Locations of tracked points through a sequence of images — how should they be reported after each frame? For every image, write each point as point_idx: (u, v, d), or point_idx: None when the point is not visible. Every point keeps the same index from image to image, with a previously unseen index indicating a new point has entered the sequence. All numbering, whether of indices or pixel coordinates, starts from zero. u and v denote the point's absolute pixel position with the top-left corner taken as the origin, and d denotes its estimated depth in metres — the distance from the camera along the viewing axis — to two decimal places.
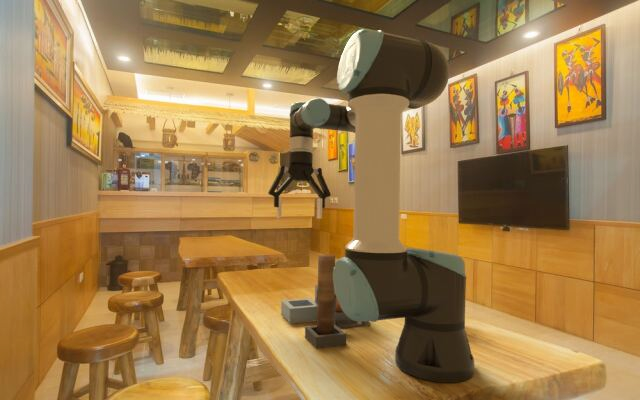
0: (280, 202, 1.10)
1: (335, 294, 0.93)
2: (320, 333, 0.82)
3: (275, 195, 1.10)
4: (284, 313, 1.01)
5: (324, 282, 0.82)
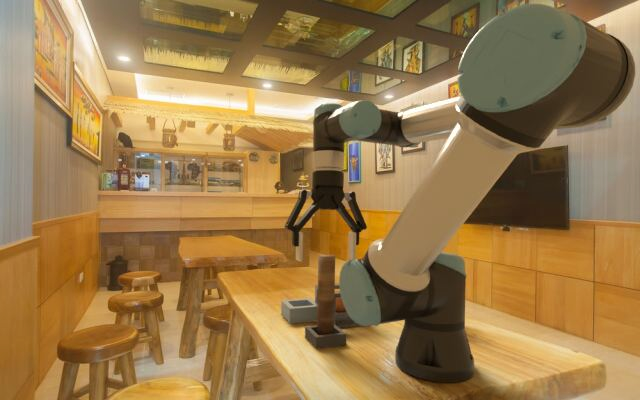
0: (301, 240, 0.81)
1: (335, 294, 0.93)
2: (320, 333, 0.82)
3: (294, 230, 0.81)
4: (284, 313, 1.01)
5: (324, 282, 0.82)
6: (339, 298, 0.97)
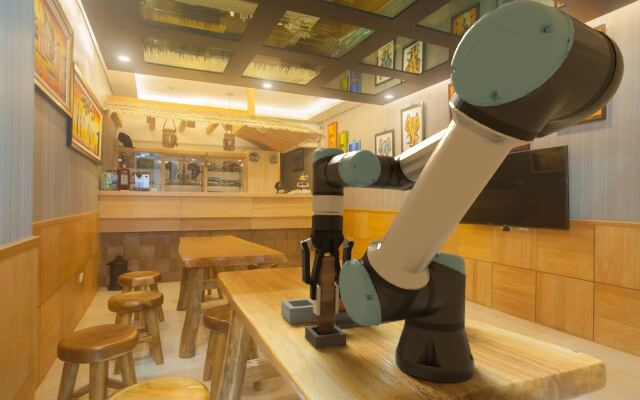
0: (319, 294, 0.82)
1: None
2: (320, 333, 0.82)
3: (313, 285, 0.82)
4: (284, 313, 1.01)
5: (324, 282, 0.82)
6: (339, 298, 0.97)
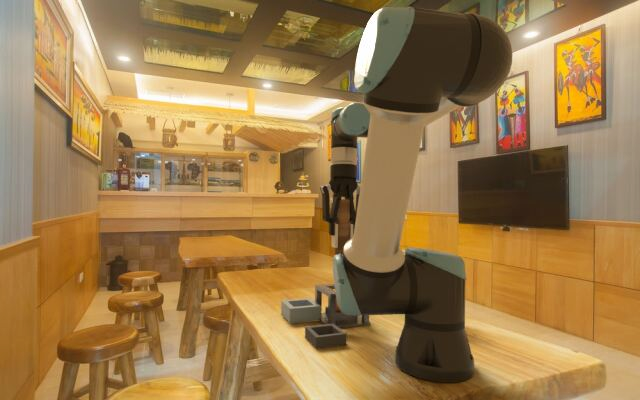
0: (337, 230, 0.98)
1: (335, 294, 0.93)
2: None
3: (332, 223, 0.98)
4: (284, 313, 1.01)
5: (341, 220, 0.98)
6: None
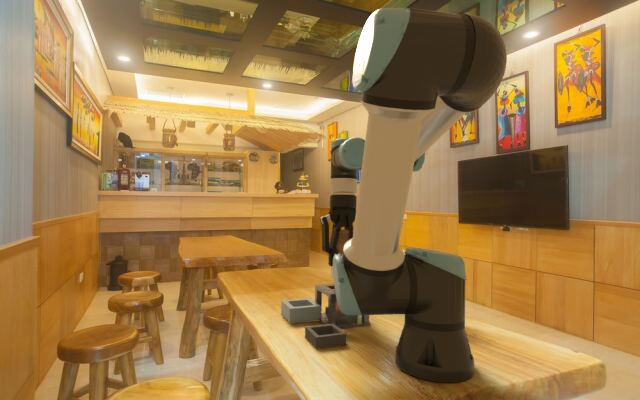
0: None
1: (335, 294, 0.93)
2: None
3: (331, 254, 0.98)
4: (284, 313, 1.01)
5: (340, 251, 0.98)
6: None
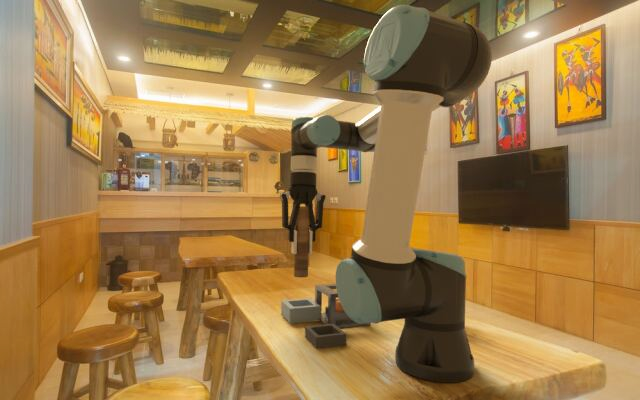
0: (295, 236, 1.00)
1: (335, 294, 0.93)
2: (296, 269, 1.00)
3: (290, 230, 1.00)
4: (284, 313, 1.01)
5: (300, 227, 1.00)
6: (339, 305, 0.97)
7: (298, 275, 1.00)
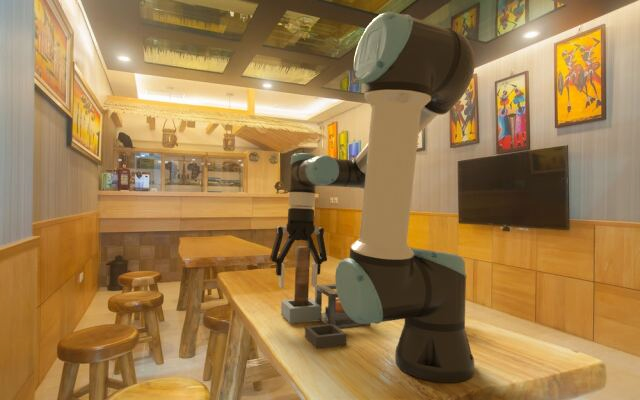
0: (283, 270, 0.98)
1: (335, 294, 0.93)
2: None
3: (278, 263, 0.98)
4: (284, 313, 1.01)
5: (300, 268, 1.00)
6: (339, 305, 0.97)
7: None
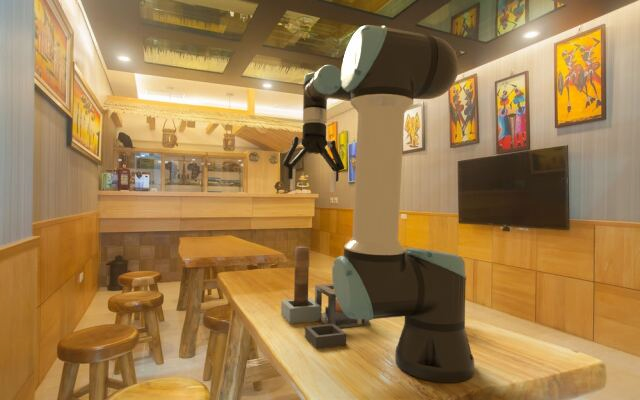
0: (294, 174, 1.08)
1: None
2: None
3: (289, 166, 1.08)
4: (284, 313, 1.01)
5: (299, 269, 1.00)
6: None
7: None
